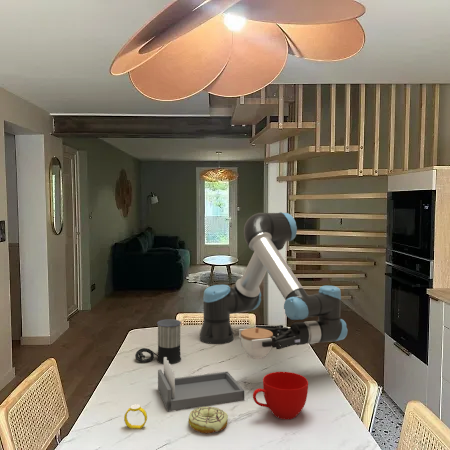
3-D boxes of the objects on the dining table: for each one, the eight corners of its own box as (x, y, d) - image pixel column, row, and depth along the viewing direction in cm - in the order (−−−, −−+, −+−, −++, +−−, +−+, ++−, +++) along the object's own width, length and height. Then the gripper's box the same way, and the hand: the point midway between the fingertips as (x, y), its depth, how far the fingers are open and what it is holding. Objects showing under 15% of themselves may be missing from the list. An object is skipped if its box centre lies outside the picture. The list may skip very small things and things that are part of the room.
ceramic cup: (242, 411, 129) (242, 377, 129) (291, 400, 136) (292, 368, 136) (264, 432, 117) (264, 395, 117) (316, 419, 124) (317, 385, 124)
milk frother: (185, 361, 169) (185, 322, 168) (149, 370, 159) (149, 330, 158) (166, 351, 180) (166, 315, 179) (131, 359, 170) (131, 321, 170)
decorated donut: (225, 437, 115) (225, 423, 115) (184, 434, 116) (185, 420, 116) (229, 417, 125) (229, 405, 125) (192, 415, 127) (192, 402, 126)
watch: (124, 430, 118) (122, 409, 118) (126, 425, 121) (125, 404, 121) (146, 430, 118) (144, 408, 118) (148, 424, 121) (146, 403, 120)
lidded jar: (270, 362, 141) (271, 334, 140) (237, 359, 143) (238, 331, 143) (273, 351, 152) (274, 324, 151) (243, 348, 154) (243, 322, 153)
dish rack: (158, 389, 144) (157, 356, 143) (227, 380, 151) (227, 348, 151) (167, 411, 128) (167, 374, 128) (244, 400, 136) (244, 365, 136)
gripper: (322, 355, 142) (259, 362, 135) (289, 333, 164) (233, 338, 157) (322, 332, 142) (259, 338, 135) (289, 313, 163) (233, 318, 156)
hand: (245, 338), depth 146 cm, fingers closed on lidded jar, 11 cm apart
